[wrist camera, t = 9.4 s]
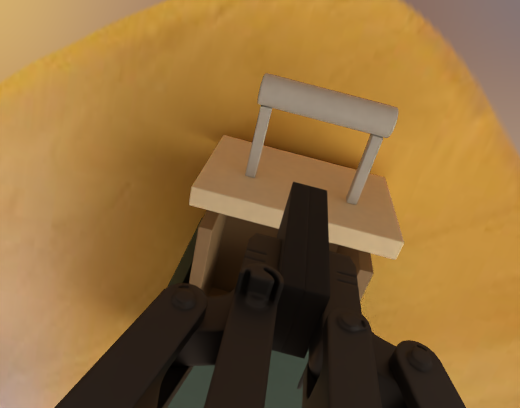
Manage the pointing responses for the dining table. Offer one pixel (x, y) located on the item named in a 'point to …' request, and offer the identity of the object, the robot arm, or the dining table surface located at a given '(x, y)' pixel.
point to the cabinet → (198, 381)
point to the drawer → (280, 182)
